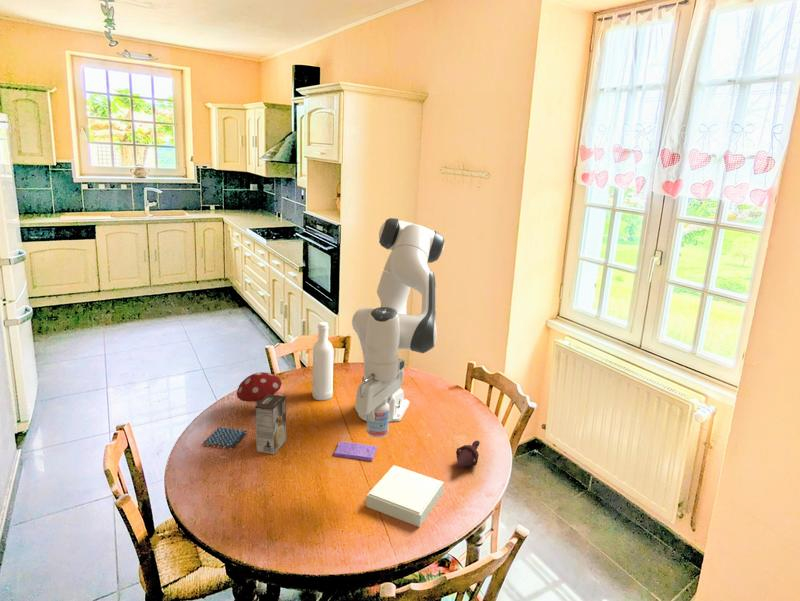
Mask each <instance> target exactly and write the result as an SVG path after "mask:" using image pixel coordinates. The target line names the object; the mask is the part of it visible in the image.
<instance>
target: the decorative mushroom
mask: <svg viewBox="0 0 800 601" xmlns="http://www.w3.org/2000/svg"><path fill="white" fill-rule="evenodd" d="M282 384H283V383H282V381H281V378H280V377H279V376H277V375H275V374H273V373H271V372H263V371H261V372H256V373H252V374H250V375H249V376H246V378H244V380H242V381H241V382H240V384H239V385H238V387H237V389H236V390H237V391H236V395H237V396H236V398H238V400H240V401H242V402H247V403H248V402H249V403H250V402H251V403H252V402H256V405H257V404H258V403H259V402H260V401H261V400H262V399H263V398H264V397H265V396H266V395H267V394H272V395H276V393H277V392H278V391H279V390H280V389H281V387H282ZM256 405H255V406H256Z"/></svg>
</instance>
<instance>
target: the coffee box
mask: <svg viewBox="0 0 800 601" xmlns="http://www.w3.org/2000/svg"><path fill="white" fill-rule="evenodd" d="M286 403H287V399H286V395H280V394H279V395H278V394H274V395H272V394H267V395H266V396H265V397H264V398H263V399H262V400H261V401H260V402H259V403H258V404H257V405H255V406H254V410H255V412H254V417H255V438H256V439H255V441H256V443H255V444H256V452H258V453H264V454H271V455H275V454H276V453H277V452H278V451H279V449H280V448H281V447H282V446H283V444H284V443H285V442H286V441H287V412H286V411H287V408H286V407H287V406H286V405H287V404H286Z"/></svg>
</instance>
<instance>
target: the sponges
mask: <svg viewBox="0 0 800 601" xmlns="http://www.w3.org/2000/svg"><path fill="white" fill-rule="evenodd" d="M377 447H378V446H377V445H372V444H371V445H370V444H364V443H358V442H350V441H343V440H339V442H338V445H337V447H336V449H335V451H334V454H333V456H334V457H340V458H348V459H352V460H353V459H354V460H361V461H367V462H373V461H374V457H375V455H376V452H377V449H378V448H377Z"/></svg>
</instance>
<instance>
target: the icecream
mask: <svg viewBox="0 0 800 601" xmlns="http://www.w3.org/2000/svg"><path fill="white" fill-rule="evenodd" d="M480 444H481V443H480V441H479V440H474V441H473V442H472V444H465V445H463V446H460V447H458V448H456V451H455V455H456V460H457V462H456V467H457V468H461V467H465V468H468V469H472V468H474V467H476V466H477V464H478V460H479V456H480V455H479V452H478V447H479V446H480Z"/></svg>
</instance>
